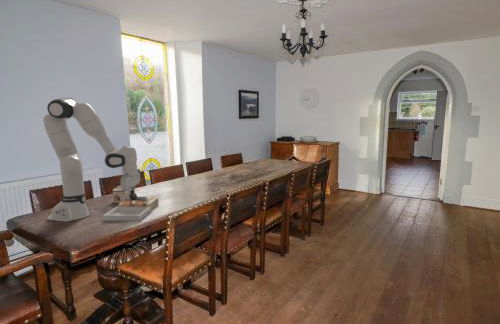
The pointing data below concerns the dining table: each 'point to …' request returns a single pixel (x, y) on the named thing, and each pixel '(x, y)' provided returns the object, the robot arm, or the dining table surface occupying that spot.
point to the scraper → (134, 197)
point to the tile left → (126, 203)
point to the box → (127, 213)
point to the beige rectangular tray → (148, 203)
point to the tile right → (139, 203)
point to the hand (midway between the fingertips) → (131, 193)
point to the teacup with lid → (118, 194)
